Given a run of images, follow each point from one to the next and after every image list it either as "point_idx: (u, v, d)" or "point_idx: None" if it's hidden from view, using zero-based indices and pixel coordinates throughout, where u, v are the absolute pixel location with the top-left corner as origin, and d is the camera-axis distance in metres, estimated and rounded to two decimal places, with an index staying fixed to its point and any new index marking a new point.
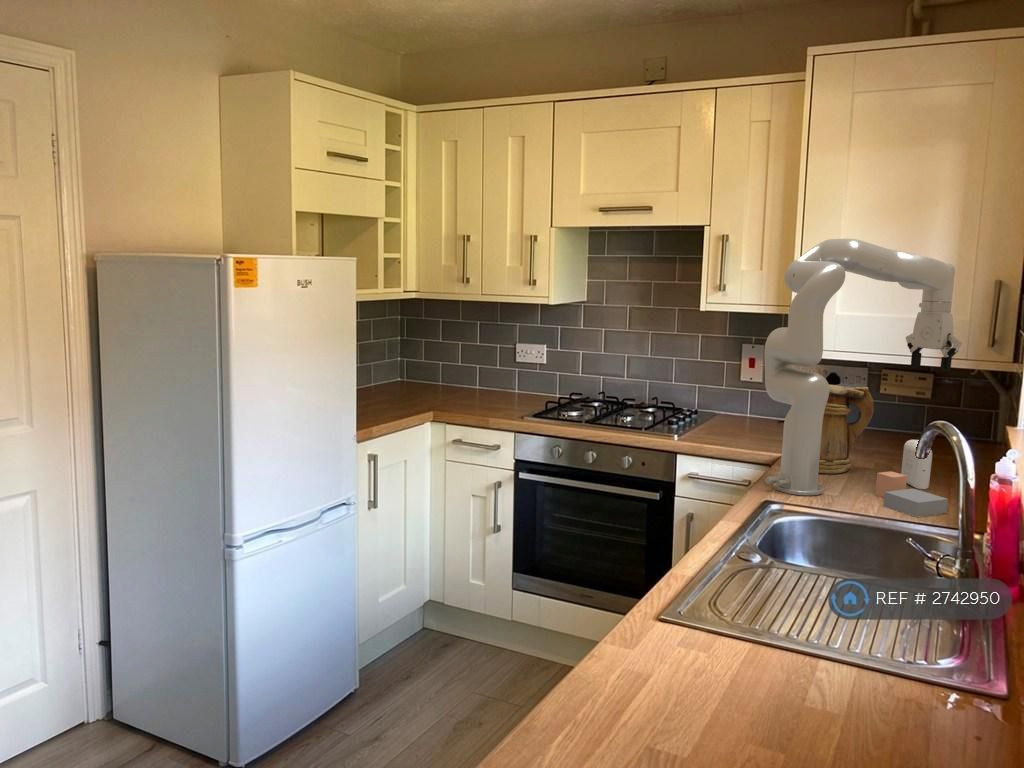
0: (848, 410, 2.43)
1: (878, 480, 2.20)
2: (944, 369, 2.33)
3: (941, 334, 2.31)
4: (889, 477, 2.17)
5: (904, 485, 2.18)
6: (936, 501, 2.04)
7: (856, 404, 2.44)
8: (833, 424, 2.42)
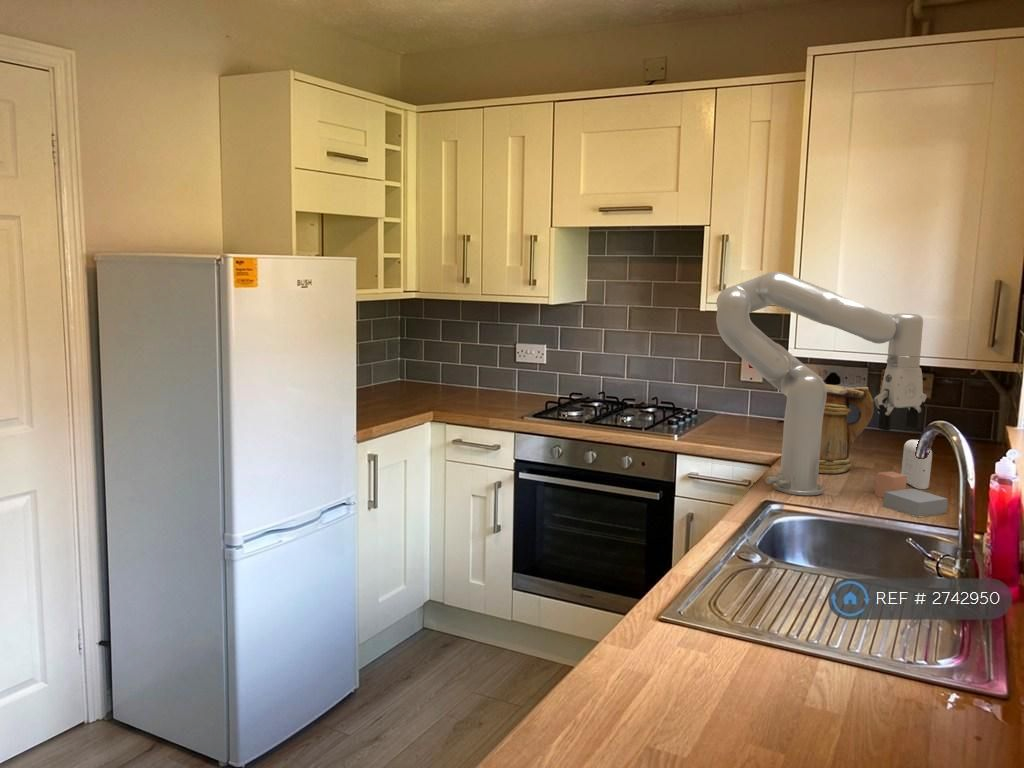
0: (848, 410, 2.43)
1: (878, 480, 2.20)
2: None
3: (922, 389, 2.16)
4: (889, 477, 2.17)
5: (904, 485, 2.18)
6: (936, 501, 2.04)
7: (856, 404, 2.44)
8: (833, 424, 2.42)
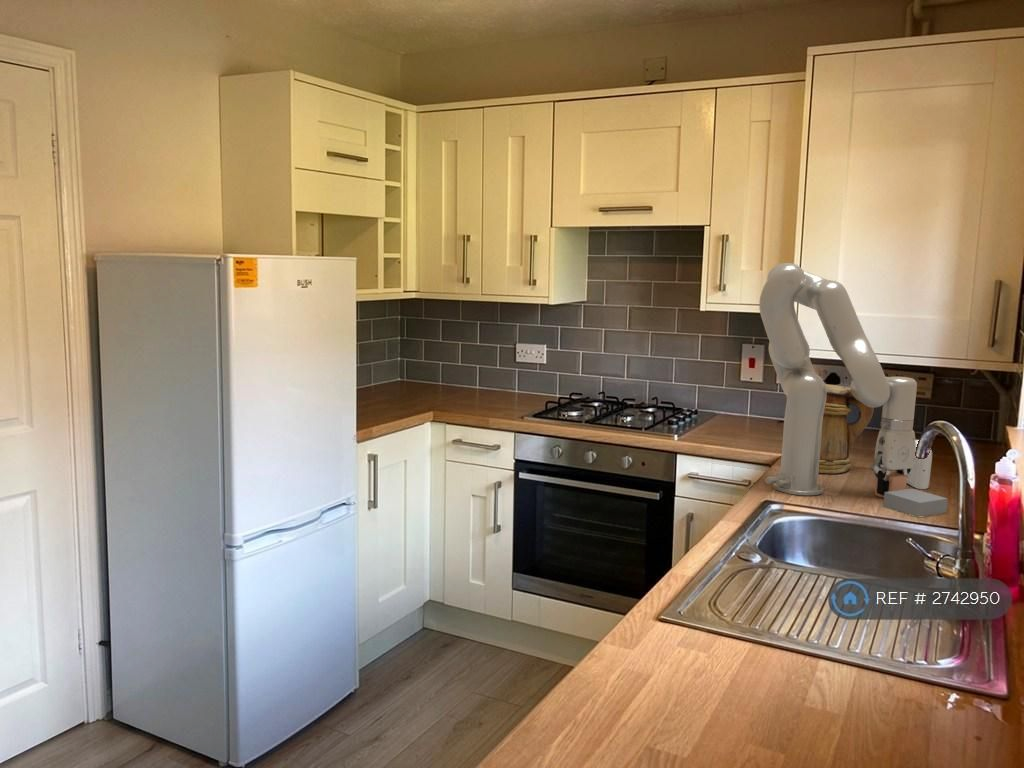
0: (848, 410, 2.43)
1: None
2: None
3: None
4: (889, 477, 2.17)
5: (904, 485, 2.18)
6: (936, 501, 2.04)
7: (856, 404, 2.44)
8: (833, 424, 2.42)
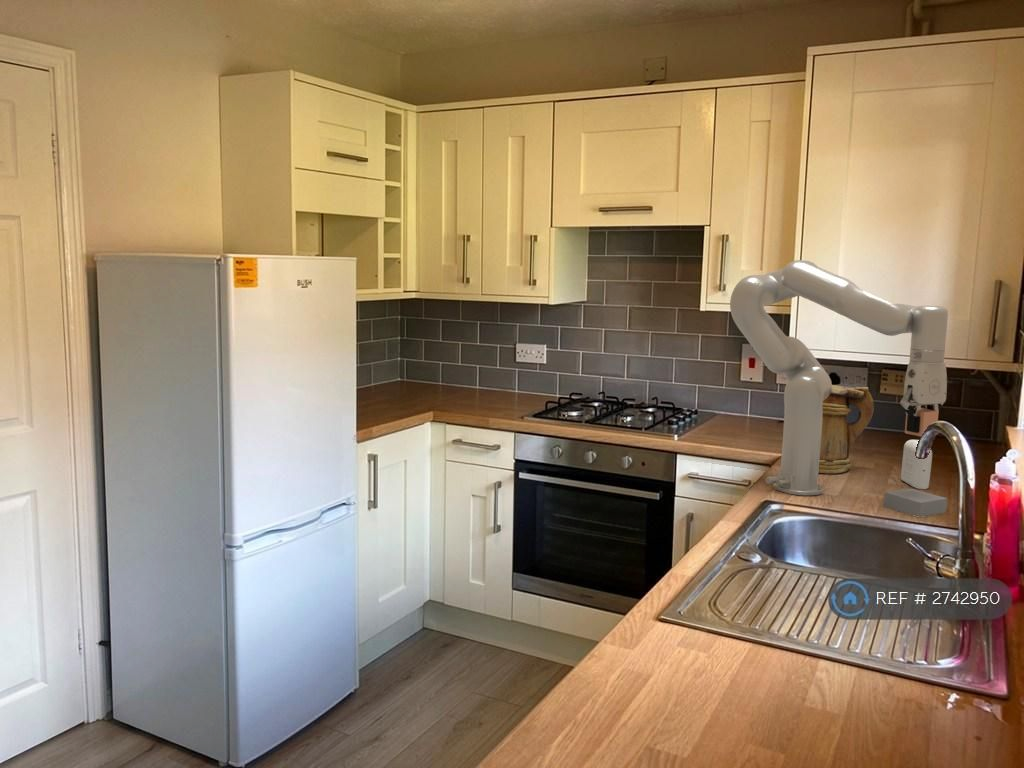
0: (848, 410, 2.43)
1: None
2: None
3: (946, 386, 2.05)
4: (920, 412, 2.04)
5: None
6: (937, 501, 2.04)
7: (856, 404, 2.44)
8: (833, 424, 2.42)
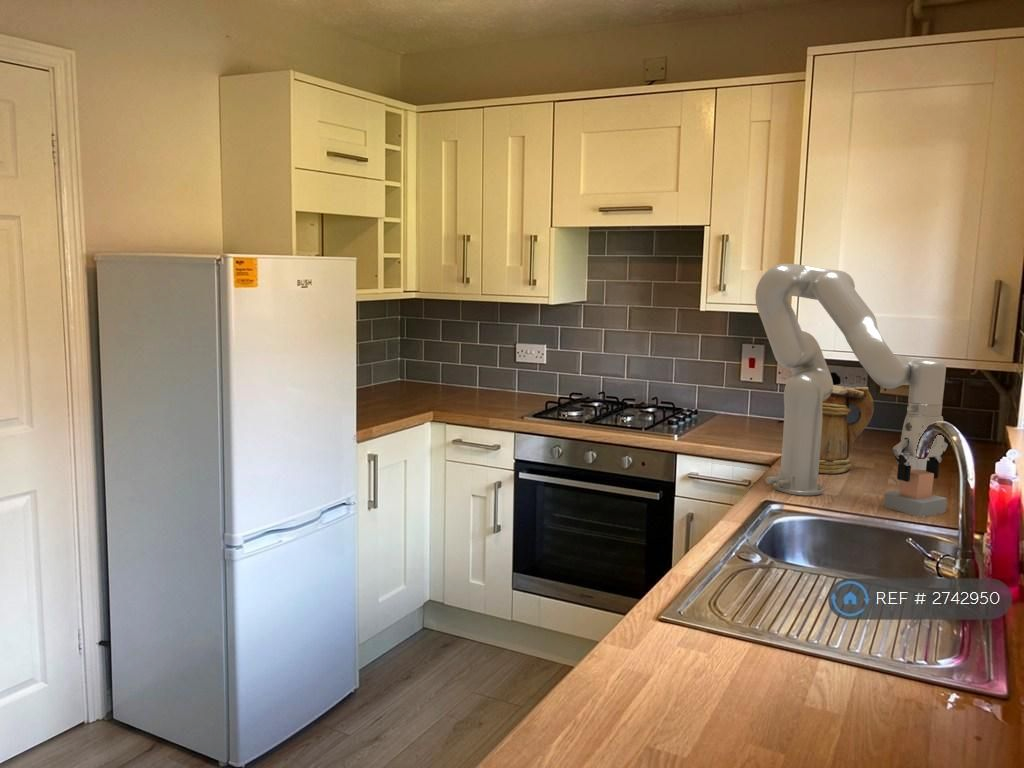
0: (848, 410, 2.43)
1: None
2: None
3: (943, 439, 2.06)
4: (915, 475, 2.05)
5: (931, 483, 2.06)
6: (937, 501, 2.04)
7: (856, 404, 2.44)
8: (833, 424, 2.42)
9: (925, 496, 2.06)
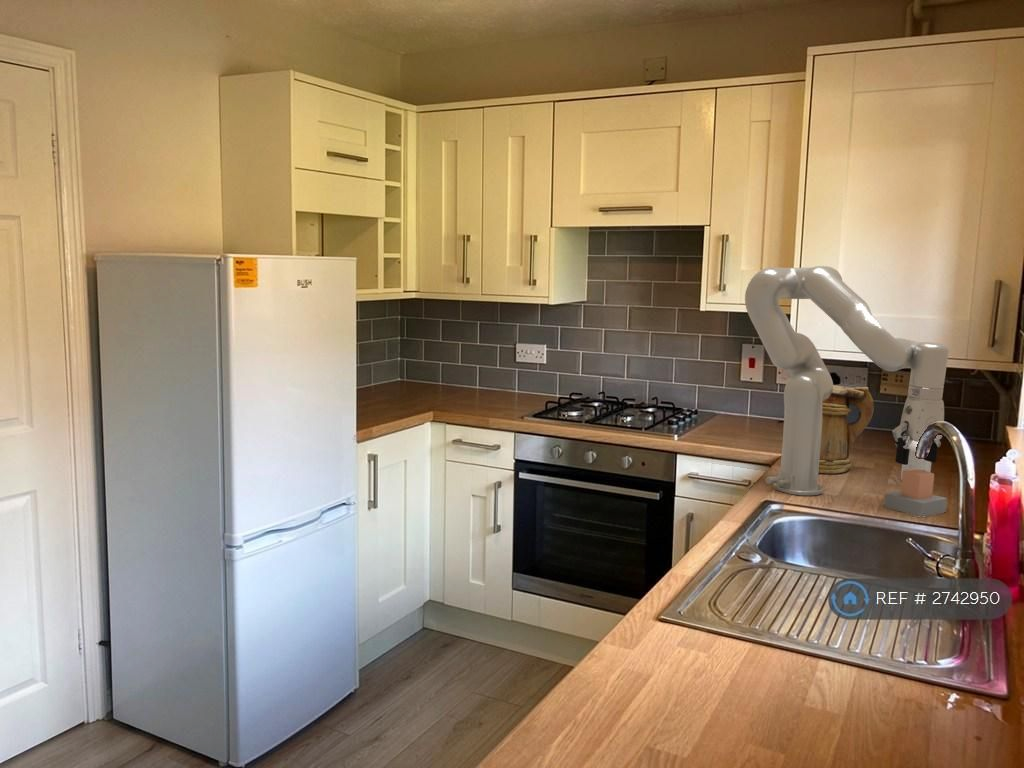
0: (848, 410, 2.43)
1: (904, 478, 2.08)
2: None
3: None
4: (916, 475, 2.05)
5: (931, 483, 2.06)
6: (937, 501, 2.04)
7: (856, 404, 2.44)
8: (833, 424, 2.42)
9: (926, 496, 2.06)
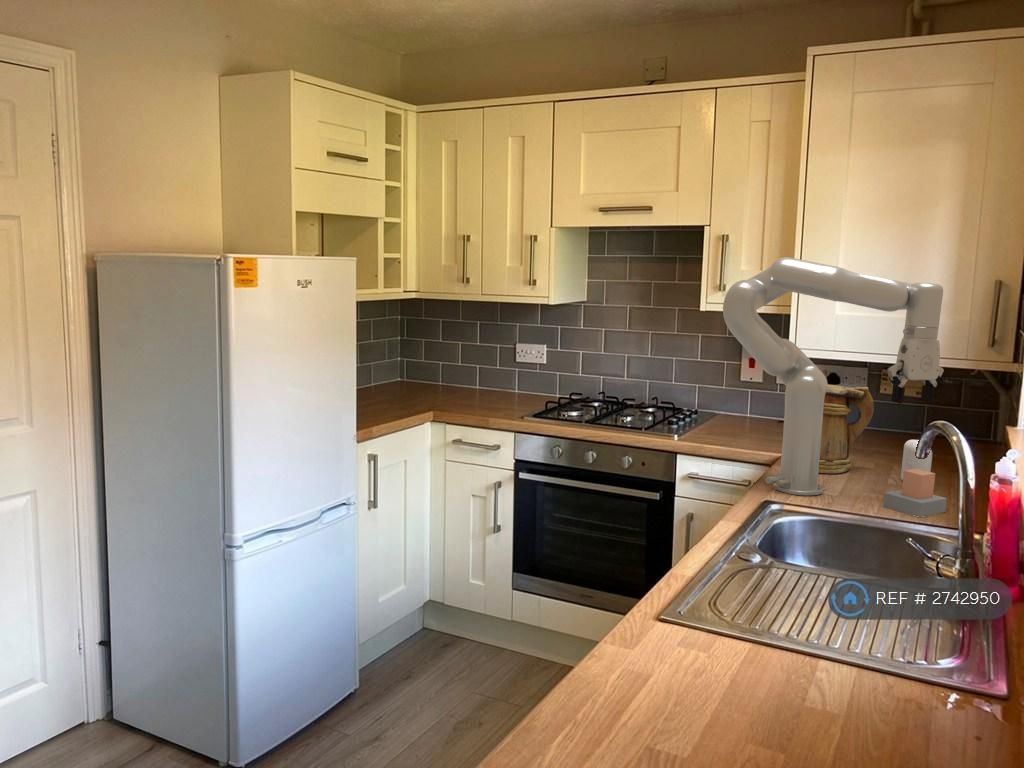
0: (848, 410, 2.43)
1: (905, 478, 2.08)
2: None
3: (939, 363, 2.08)
4: (918, 475, 2.05)
5: (932, 483, 2.06)
6: (937, 501, 2.04)
7: (856, 404, 2.44)
8: (833, 424, 2.42)
9: (927, 496, 2.06)
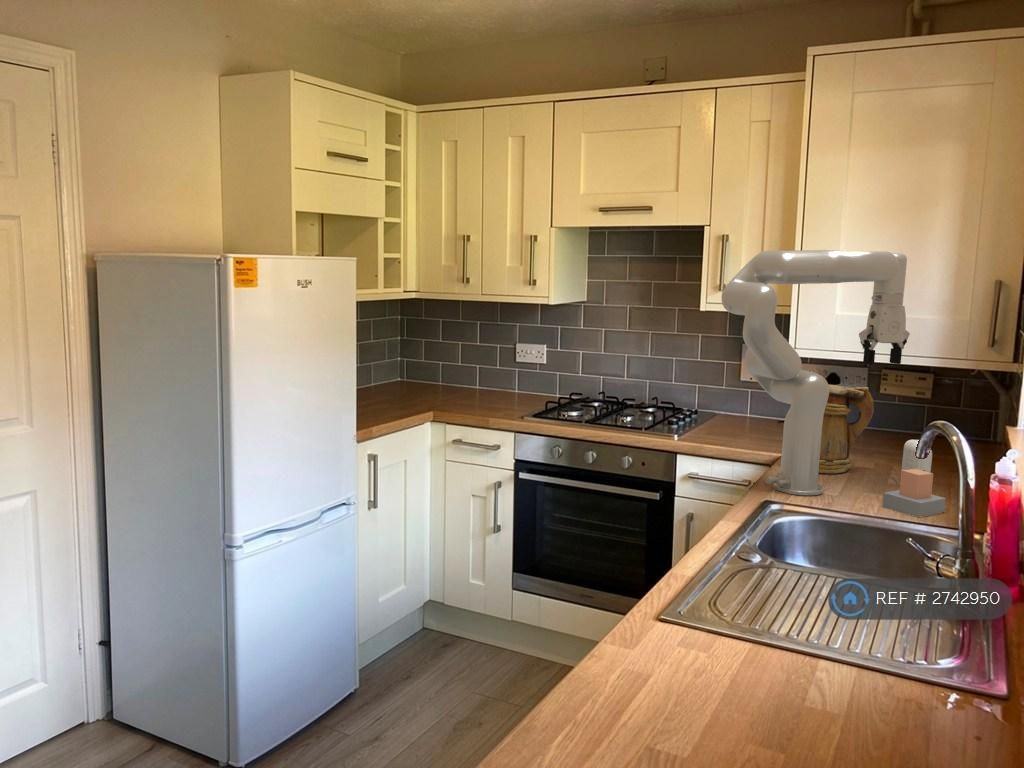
0: (848, 410, 2.43)
1: (902, 478, 2.08)
2: None
3: (905, 326, 2.25)
4: (914, 475, 2.05)
5: (930, 483, 2.06)
6: (936, 501, 2.04)
7: (856, 404, 2.44)
8: (833, 424, 2.42)
9: (925, 496, 2.06)
